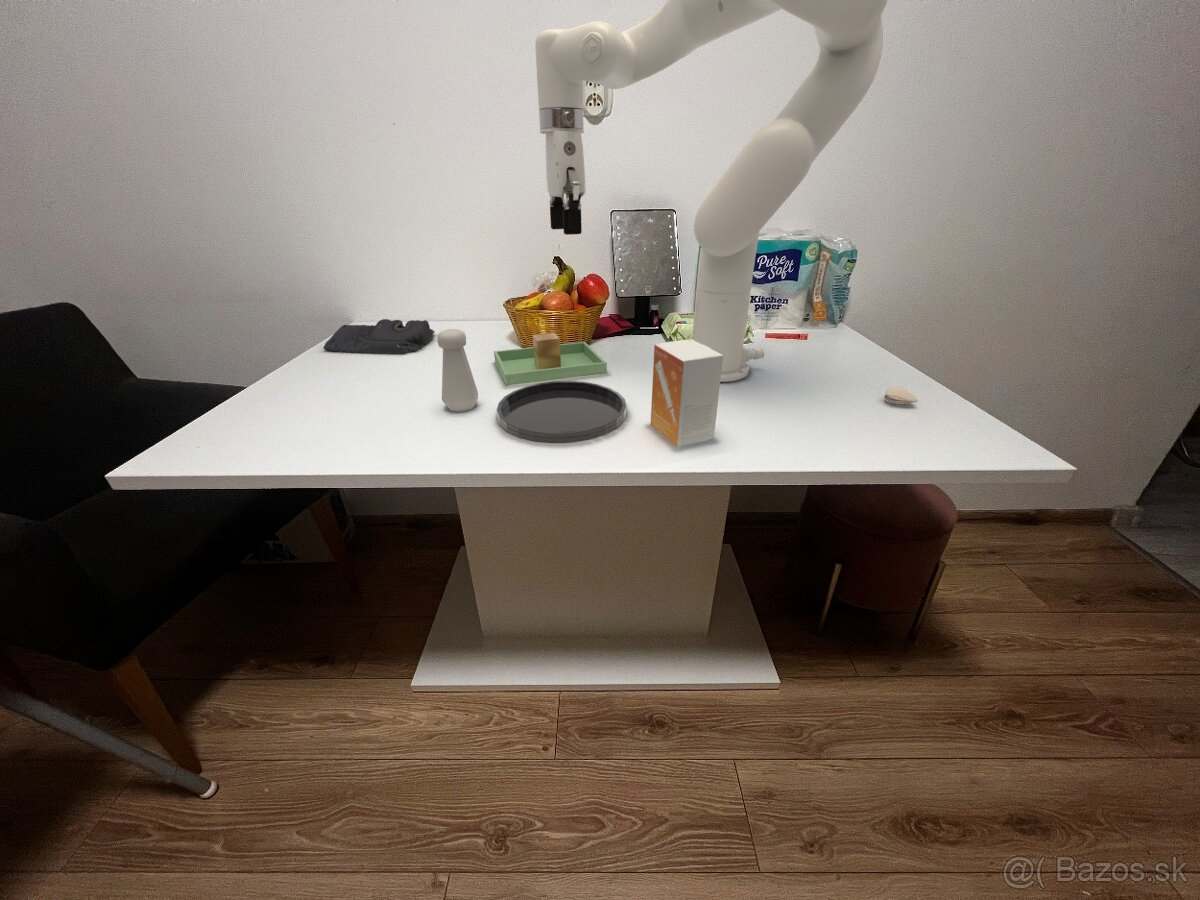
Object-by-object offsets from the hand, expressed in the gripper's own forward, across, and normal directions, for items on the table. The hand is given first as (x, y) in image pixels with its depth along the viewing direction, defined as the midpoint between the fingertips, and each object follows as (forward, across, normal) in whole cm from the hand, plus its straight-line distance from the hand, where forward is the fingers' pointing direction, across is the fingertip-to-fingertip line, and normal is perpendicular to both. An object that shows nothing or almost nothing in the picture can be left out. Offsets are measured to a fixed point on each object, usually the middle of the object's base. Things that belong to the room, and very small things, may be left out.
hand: (565, 231), depth 95 cm
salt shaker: (+24, -20, +24) cm, 40 cm away
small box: (+24, -40, -6) cm, 47 cm away
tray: (+24, -6, +6) cm, 26 cm away
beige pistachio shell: (+24, -42, -45) cm, 66 cm away
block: (+24, -6, +6) cm, 25 cm away
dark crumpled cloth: (+24, +24, +38) cm, 51 cm away
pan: (+24, -28, +9) cm, 38 cm away
